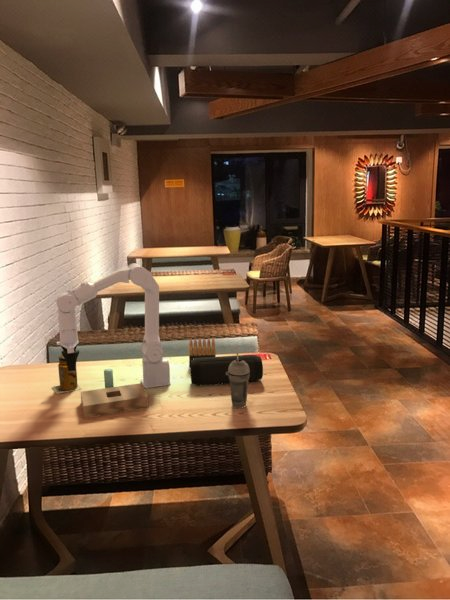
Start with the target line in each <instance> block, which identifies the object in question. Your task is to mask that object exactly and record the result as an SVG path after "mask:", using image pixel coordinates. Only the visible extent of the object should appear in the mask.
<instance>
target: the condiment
mask: <svg viewBox="0 0 450 600" xmlns="http://www.w3.org/2000/svg"><path fill="white" fill-rule="evenodd" d="M57 368H58V369H57V370H58V379H59V385H54V386H51V389H52V390H53V391H54V392H55V394H57V395H59V394H63V393H64V394H65V393H68V392H73V391H78V390H81V389H82V388H81V387H80V386H79V385H78V384H79V383H78V372H77V368H76V369H75V371H69V370H68V368H67V364H66V361H65V358H64V357H63V355H62V354H61V355H60V356H59V357H58V366H57Z"/></svg>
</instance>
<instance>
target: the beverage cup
mask: <svg viewBox="0 0 450 600" xmlns="http://www.w3.org/2000/svg"><path fill="white" fill-rule="evenodd" d="M235 348H236V356H237V360H234V361H233V362H232V363H231V364H230V365H229V368H228V376H229V380H230V384H229V390H230V398H231V404H232V405H231V406H232V407H233V408H234V407H236V408H235V409H243V408H242V407H244V406H246V407H247V399H248V389H249V383H248V379H249V376H250V370H249V366H248V364H247V363H246V362H245V361H243V360H240V359H239V358H238V356H239V347H238V345H236V346H235ZM244 408H245V407H244Z"/></svg>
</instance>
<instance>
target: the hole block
mask: <svg viewBox="0 0 450 600" xmlns="http://www.w3.org/2000/svg"><path fill="white" fill-rule="evenodd" d="M80 401H81V402H80V403H81V407H82V412H83V413H82V414H83V417H84V419H87V418H93V417H94V418H95V417H100V416H105V415H106V416H107V415H114V414H119V413H125V412H131V411H138V410H143V409H149V396H148V394H147V392H146V390H145V388H144V386H143V384H142V382H141V383H132V384H124V385H119V386H114V387H111V388H105V387H104V388H98V389H91V390H84V391H80Z"/></svg>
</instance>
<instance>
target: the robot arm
mask: <svg viewBox="0 0 450 600" xmlns="http://www.w3.org/2000/svg"><path fill="white" fill-rule="evenodd" d="M130 281H131V283H132V284H134V285H136V286H137V287H140V288H141V289H142V290H144V334H143V339H142V340H143V341H142V343H141V346H140V350H141V352H142V354H143V357H142V360H141V361H142V362H141V363H142V379H140V382H141V385H142V386H143V388H144V389H149V388H150V389H151V388H157V387H163V386H170V385H172V384H171V375H170V374H171V373H170V372H171V371H170V370H171V369H170V363H169V360H168V358H164V357H163V356H164V350H163V349H162V343H161V339H160V332H159V331H160V286H159V284H158V282H157V281H156V279H155V278H154V276H153V275H152V272H151V271H149V270H147V269H146V268H145V267H143V266H142V265H141V264H139V263H135V262H134V263H130V264H129V265H125V266H122V267H120V268H118V269H117V270H115V271H113V272H111V273H110V274H108V275H106V276H104V277H103V278H102V277H101V278H100V279H98V280H97V281H95V282H89V281H87V282H85V281H83V282H80V285H79V286H76V287H74V288H73V289H67V292H62V293H60V294H59V295H58V296H57V298H56V303H55V304H56V305H57V309H58V310H57V314H58V317H57V318H58V319H57V320H58V332H59V341H56V346H60V348H61V349H62V350H61V355H63V357H64V358H65V361H66V364H67V368H68V370H69V371H75V369H76V370H77V361H78V357H79V354H80V350H79V349H77V347H78V344H79V343H80V341H79V337H78V321H77V314H76V307H77V306H81V305H83V304H85V303H87V302H89V301H91V300H92V299H95V298H96V297H97V294H98V293H99V292H101V291H103V290H105V289H107V288H109V287H112V286H114V285H116V284H118V283H126V284H130ZM76 349H77V350H76Z"/></svg>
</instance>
